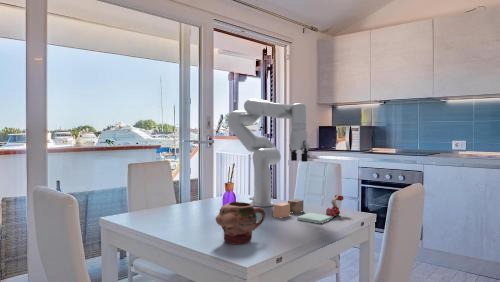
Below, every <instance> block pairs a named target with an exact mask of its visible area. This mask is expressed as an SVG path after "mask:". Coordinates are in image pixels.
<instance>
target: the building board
mask: <svg viewBox="0 0 500 282" xmlns="http://www.w3.org/2000/svg"><path fill="white" fill-rule="evenodd" d="M296 218H297V219H296V220H297V221H300V220H303V221H302V222H305V221H310V222H309V223H311V222H316V223H315V224H317V223H322V222H325V221H327V220H330V219H332V218H333V216H328V215H326V214H320V213H315V212H314V213H313V212H307V213H304V214H301V215H299V216H297V217H296ZM333 219H334V218H333ZM333 219H332V220H333ZM330 221H331V220H330ZM327 222H328V221H327ZM325 223H326V222H325ZM322 224H323V223H322Z"/></svg>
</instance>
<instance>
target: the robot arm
mask: <svg viewBox="0 0 500 282" xmlns="http://www.w3.org/2000/svg"><path fill="white" fill-rule="evenodd" d="M243 108H244V110H234V111H231V112H230V113H229V114H228V117H227V125H228V127H229V129H230V131H231V132H232V133H233V134H234V136H235V137H236V138H237V140H239V141H240V143H241V144H242V145H243V147H244V148H245V149H246V150H247V152H250V153H252V163H253V172H254V173H253V174H254V176H253V177H254V178H253V179H254V181H253V195H250V196H249V197H248V200H249V201H251V203H250V204H252V205H253V207H260V208H266V207H273V205H274V204H275V202H273V201H272V171H271V168H270V166H273V165H277V164H279V162H280V161H281V157H282V155H281V152H280V150H279V149H278V148H277V147H276V145H275V144H273V143H272V141H271V140H270V139H269V138H268V137H266V136H265V135H256V134H254V133H253V132H252V131H251V129H249V127H247V126H251V125H254V124H255V123H256V122H257V121H258V120H259V119H260V118H261V117H263V116H264V117H269V118H274V119H286V120H287V119H288V120H289V119H290V121H291V124H290V125H291V126H290V127H291V130H290V138H289V145H288V146H289V150H290V151H289V152H290V154H291V155H290V157H291V159H290V160H291V162H295V161H298V153H297V151H298V150H300V151H301V154H300V155H301V162H308V154H309V151H310V144H309V143H308V135H307V105H306V104H305V103H300V102H299V103H293V104H289V103H288V104H287V103H277V102H271V101H270V100H265V99H258V98H257V99H256V98H249V99H247V100H246V101H245V102H244V103H243Z"/></svg>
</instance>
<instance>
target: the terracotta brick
mask: <svg viewBox="0 0 500 282" xmlns="http://www.w3.org/2000/svg"><path fill="white" fill-rule="evenodd" d="M272 207H273V208H272V209H273V211H272V212H273V213H272V217H273V216H275V217H274V218H277V217H281V218H280V219H284V218H283V217H285V218H287V217H286V216H288V217H290V216H291V213H290V204H288V202H287V203H286V202H277V203H274V205H273V206H272ZM289 215H290V216H289Z"/></svg>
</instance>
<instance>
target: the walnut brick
mask: <svg viewBox="0 0 500 282" xmlns="http://www.w3.org/2000/svg"><path fill="white" fill-rule="evenodd" d="M287 203H288V204H290V212H293V213H292V214H294V213H297V214H299V213H298V212H300V213H302V212H301V211H303V212H304V199H299V198H297V199H296V198H294V199H290V200H287Z"/></svg>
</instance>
